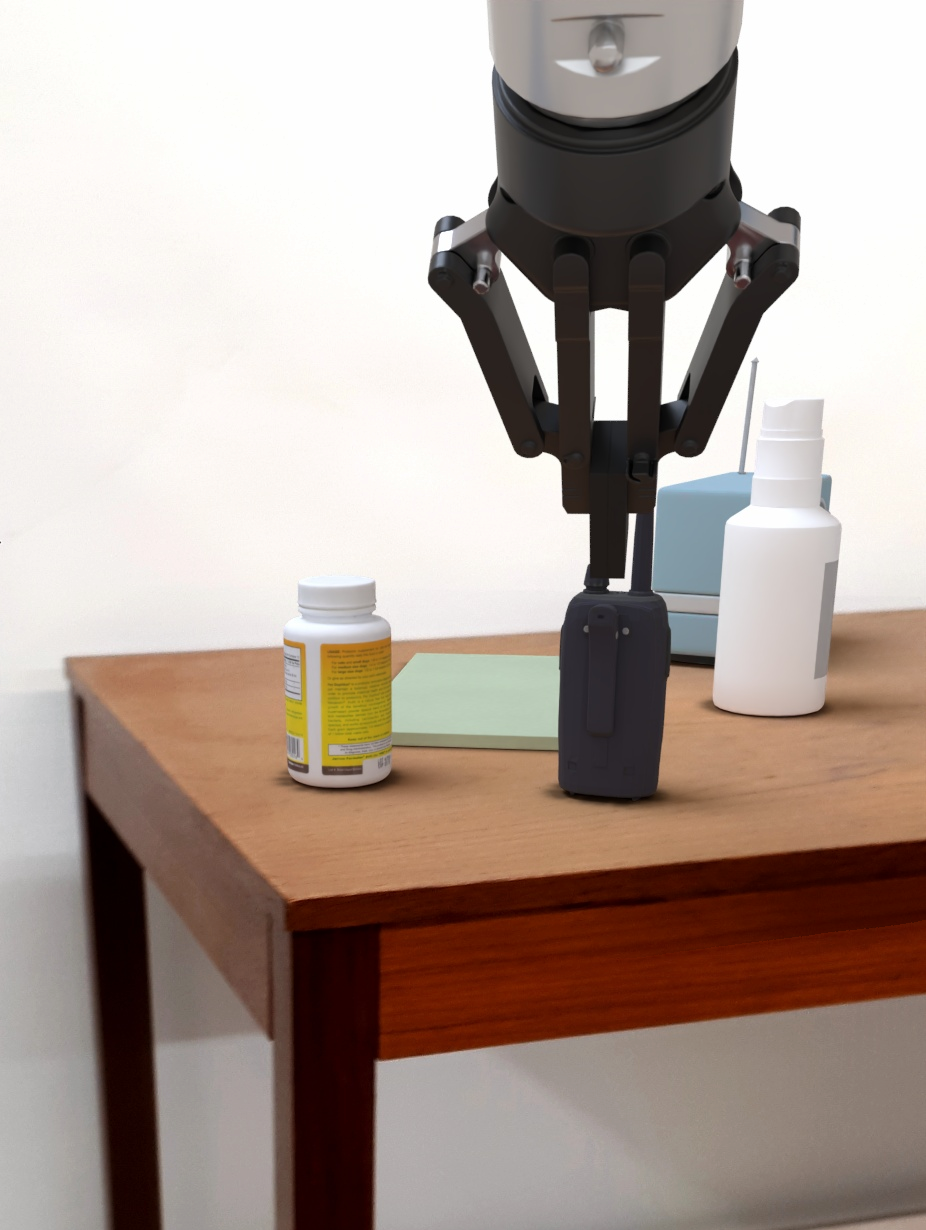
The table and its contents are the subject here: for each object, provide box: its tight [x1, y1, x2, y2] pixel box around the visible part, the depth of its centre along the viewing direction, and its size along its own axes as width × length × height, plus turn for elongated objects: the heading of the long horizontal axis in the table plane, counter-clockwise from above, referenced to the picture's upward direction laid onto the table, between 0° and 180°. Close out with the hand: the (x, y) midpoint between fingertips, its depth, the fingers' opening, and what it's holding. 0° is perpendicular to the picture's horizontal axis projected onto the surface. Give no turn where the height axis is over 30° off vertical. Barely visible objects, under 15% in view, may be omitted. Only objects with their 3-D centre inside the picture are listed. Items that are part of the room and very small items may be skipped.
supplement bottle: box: [282, 574, 393, 789], centre depth 87 cm, size 6×6×10 cm
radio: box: [651, 356, 833, 666], centre depth 119 cm, size 16×9×20 cm, turn 150°
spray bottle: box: [712, 397, 843, 717], centre depth 101 cm, size 7×7×18 cm
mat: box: [392, 652, 560, 751], centre depth 106 cm, size 16×26×1 cm, turn 169°
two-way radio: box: [557, 508, 671, 802], centre depth 81 cm, size 6×4×15 cm
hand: (609, 552), depth 72 cm, fingers closed
